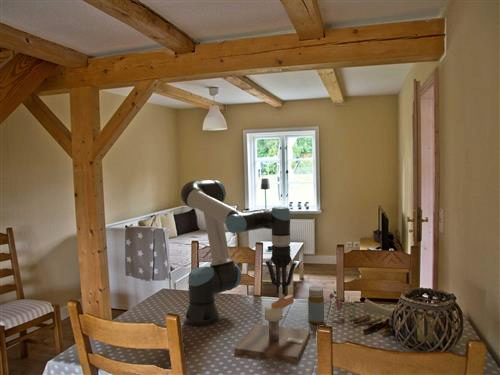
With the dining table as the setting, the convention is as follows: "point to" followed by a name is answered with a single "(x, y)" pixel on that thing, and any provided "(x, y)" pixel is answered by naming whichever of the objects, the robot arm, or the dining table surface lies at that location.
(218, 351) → the dining table surface
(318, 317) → the bottle
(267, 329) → the post base
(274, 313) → the lever switch
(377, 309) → the flower vase
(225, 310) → the dining table surface
